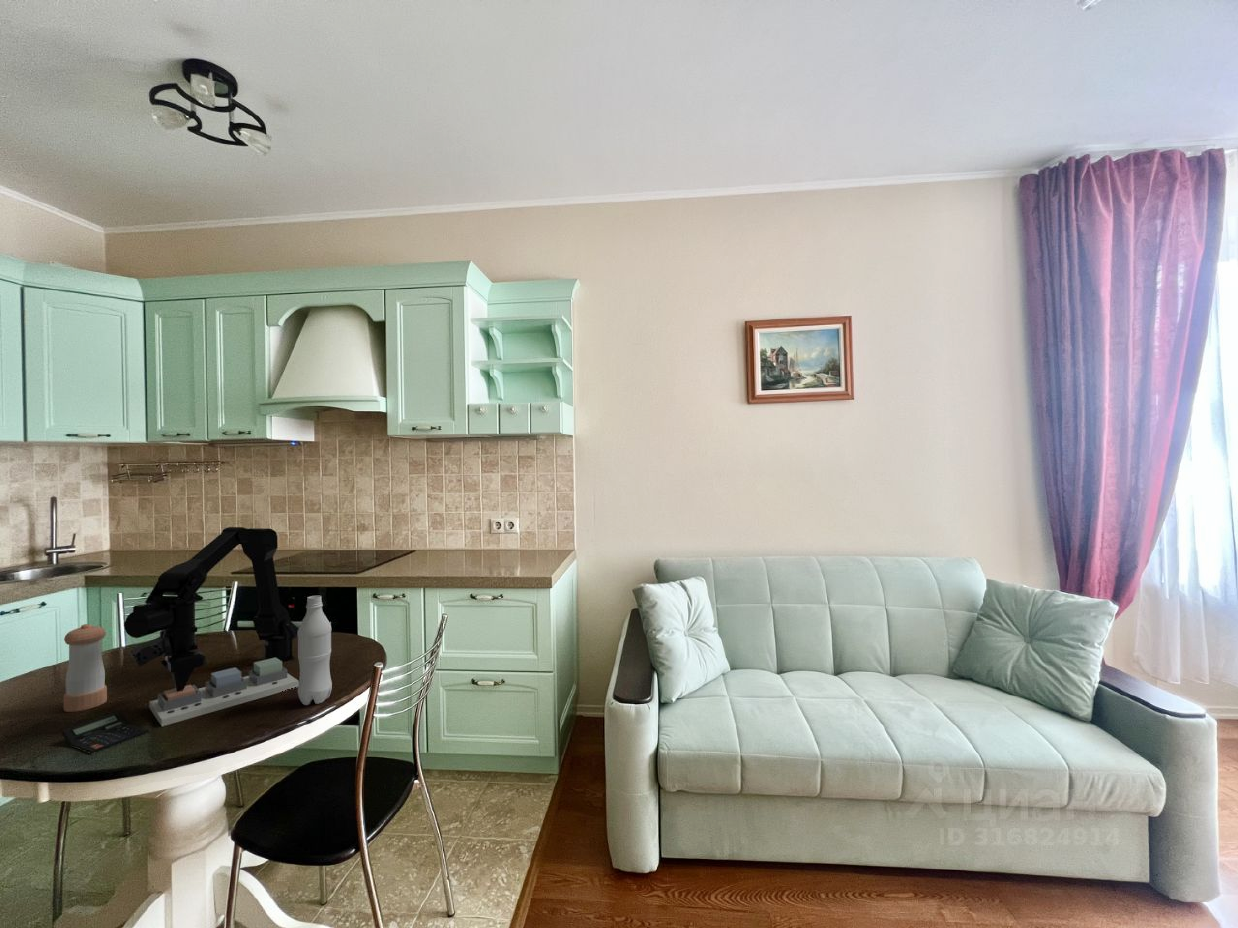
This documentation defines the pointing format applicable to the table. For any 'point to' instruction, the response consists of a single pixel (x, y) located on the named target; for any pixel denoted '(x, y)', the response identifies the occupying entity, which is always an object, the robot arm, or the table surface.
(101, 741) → the calculator
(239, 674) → the two dot button
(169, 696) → the three dot button
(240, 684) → the button board
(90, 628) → the pepper shaker
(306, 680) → the water bottle
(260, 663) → the one dot button
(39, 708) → the table surface
